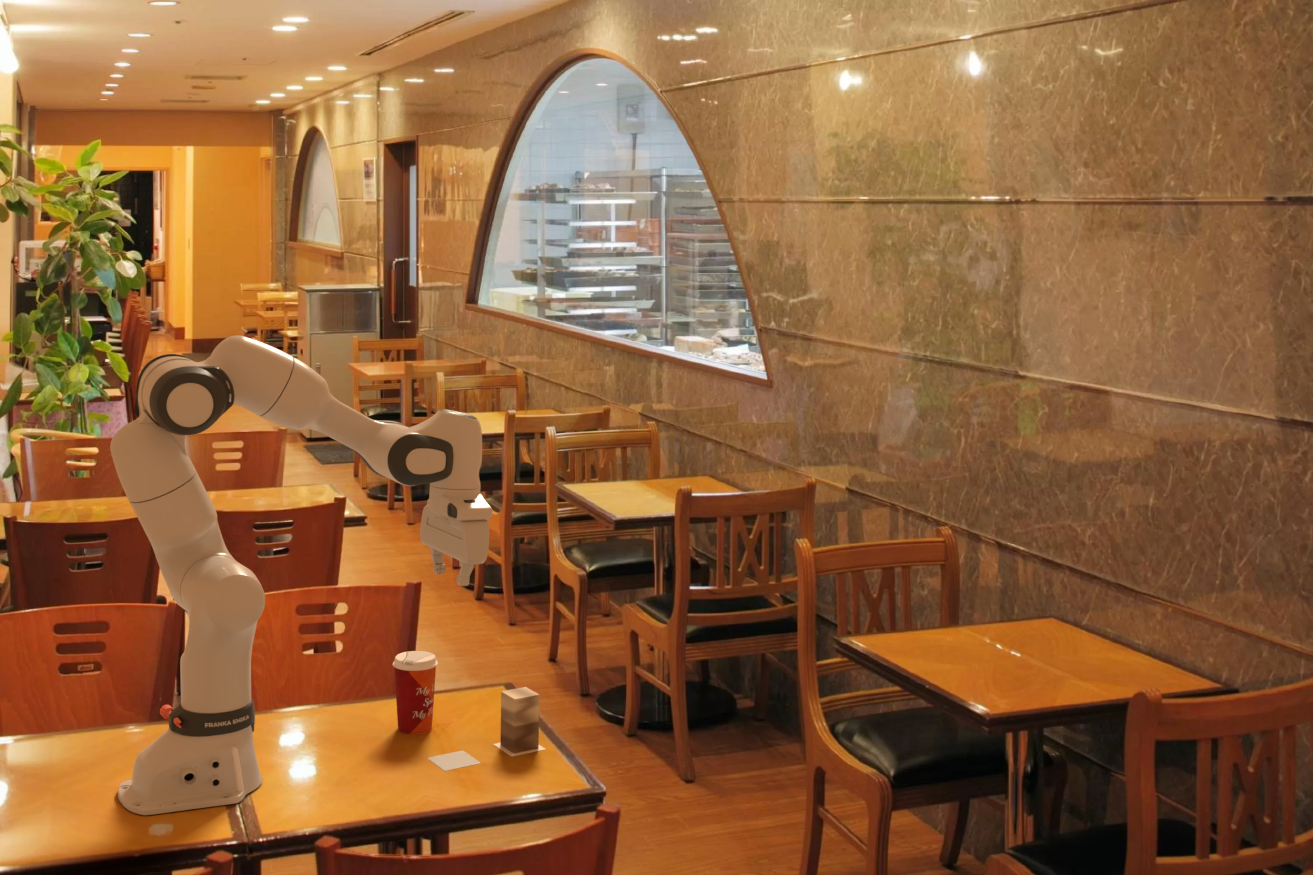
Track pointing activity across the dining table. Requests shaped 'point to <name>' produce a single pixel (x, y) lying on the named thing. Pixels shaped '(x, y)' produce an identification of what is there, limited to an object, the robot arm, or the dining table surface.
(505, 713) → the maple block
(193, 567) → the robot arm
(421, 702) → the coffee cup
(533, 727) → the walnut block
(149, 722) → the dining table surface
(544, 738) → the dining table surface
